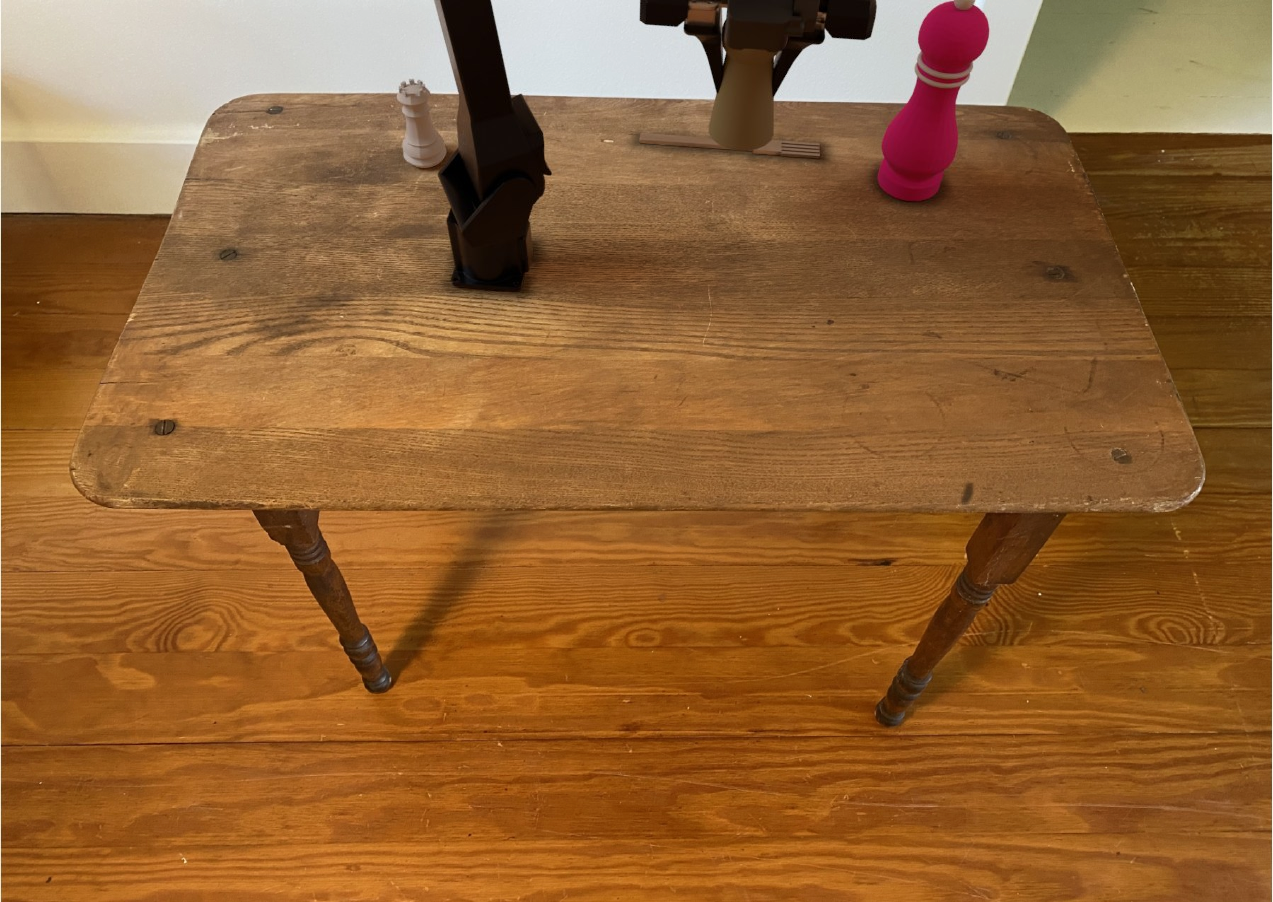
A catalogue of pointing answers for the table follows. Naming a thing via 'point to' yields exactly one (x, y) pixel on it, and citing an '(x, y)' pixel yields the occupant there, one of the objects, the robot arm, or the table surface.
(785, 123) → the table surface
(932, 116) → the pepper mill
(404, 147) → the rook chess piece
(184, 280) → the table surface
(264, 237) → the table surface
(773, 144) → the fork
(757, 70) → the tan cone-shaped piece
